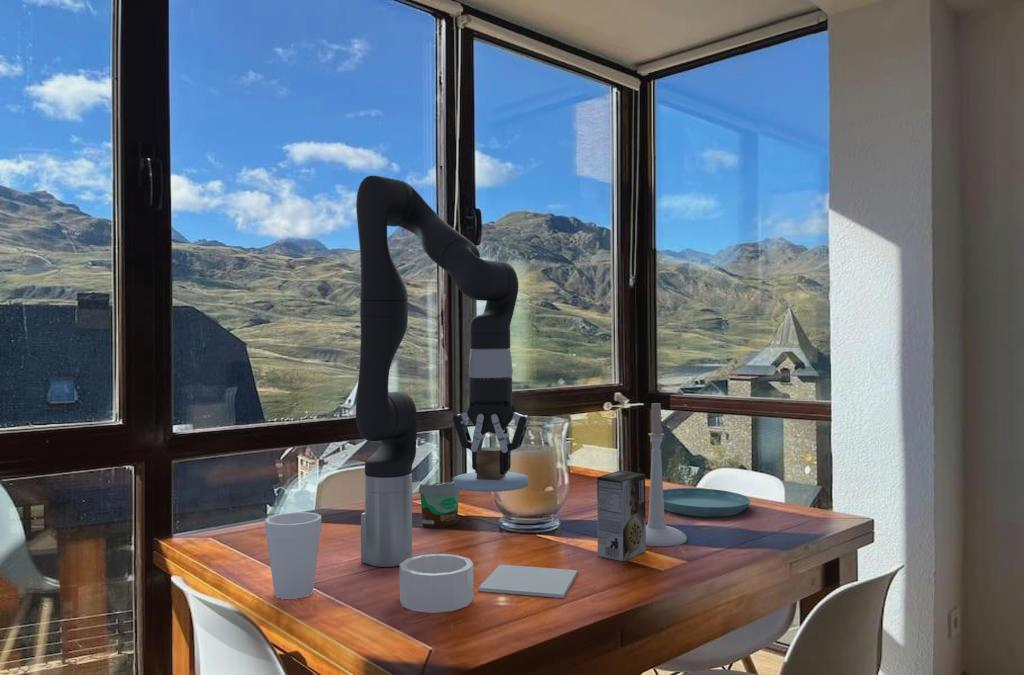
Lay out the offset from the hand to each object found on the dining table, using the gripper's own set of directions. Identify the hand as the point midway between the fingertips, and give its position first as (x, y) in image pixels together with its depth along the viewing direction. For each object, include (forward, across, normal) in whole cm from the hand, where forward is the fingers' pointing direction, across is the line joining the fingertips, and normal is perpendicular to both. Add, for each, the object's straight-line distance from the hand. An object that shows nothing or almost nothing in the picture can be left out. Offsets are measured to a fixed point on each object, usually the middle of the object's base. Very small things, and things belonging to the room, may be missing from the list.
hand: (491, 472), depth 135 cm
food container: (+20, -25, +42) cm, 53 cm away
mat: (+20, +5, +6) cm, 22 cm away
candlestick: (+21, +24, +42) cm, 53 cm away
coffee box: (+21, +19, +28) cm, 40 cm away
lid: (+2, 0, 0) cm, 2 cm away
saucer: (+21, +32, +76) cm, 85 cm away
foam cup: (+20, -32, -11) cm, 40 cm away
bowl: (+20, -8, -7) cm, 23 cm away
